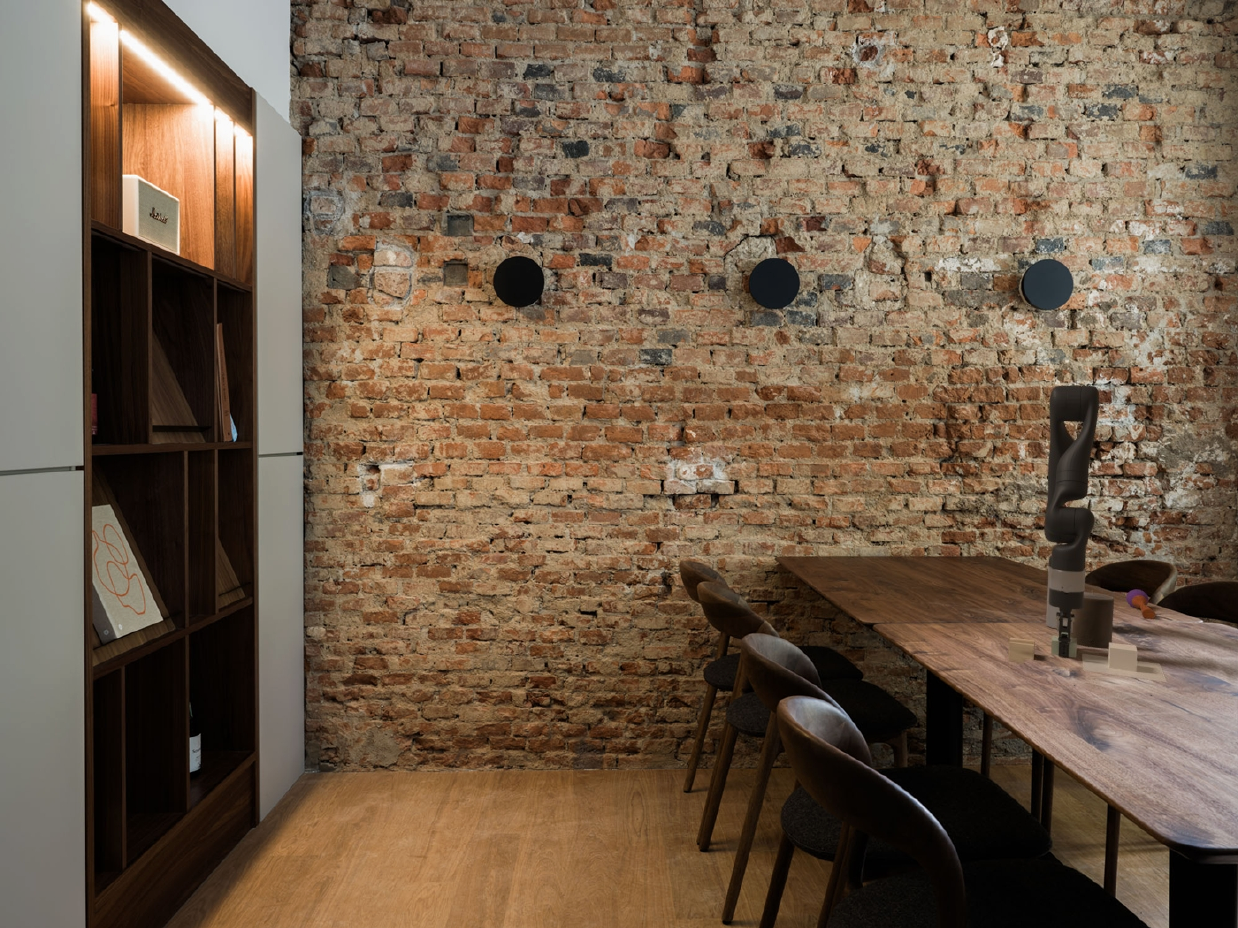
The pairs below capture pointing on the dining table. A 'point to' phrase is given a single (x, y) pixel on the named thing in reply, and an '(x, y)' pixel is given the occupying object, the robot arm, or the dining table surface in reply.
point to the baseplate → (1143, 670)
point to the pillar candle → (1094, 621)
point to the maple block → (1021, 650)
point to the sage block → (1071, 646)
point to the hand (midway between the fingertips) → (1063, 653)
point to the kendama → (1140, 603)
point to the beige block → (1122, 657)
